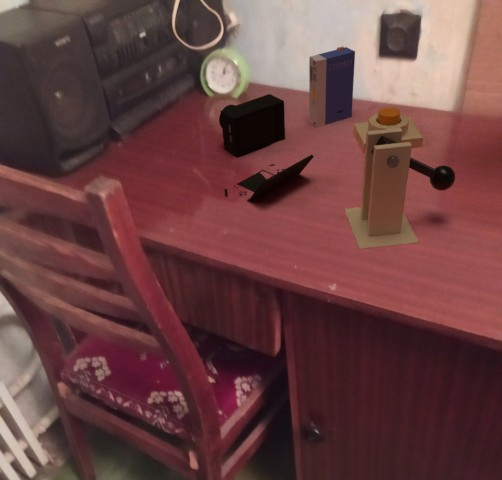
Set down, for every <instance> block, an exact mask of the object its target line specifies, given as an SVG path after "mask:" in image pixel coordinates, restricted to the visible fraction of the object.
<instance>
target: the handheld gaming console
mask: <svg viewBox="0 0 502 480" xmlns="http://www.w3.org/2000/svg"><path fill="white" fill-rule="evenodd" d="M313 159H314V155H313V154H310V155H308V156H306V157H305V158H303V159H301V160H299V161H297V162H295V163H293V164H292V165H291V166H288V167H286V168H281V171H280V169H279V168H277V169H276V173H275V174H274V173H271V172H269V171H268V170H269V169H270V168H269V167H275V166H277V165H276V164H274V163H271V164H269V165H268V167H267V170H265V169H261V170H260V171H258V172H256V173H254V174H252V175H250V176H248V177H246V178H245V179H243V180H241V181H239V182H237V183H236V185H237V186H236V185H233V187H234V188H235V187H236V189H239V187H242V188H244V189H246V190H248V191H250V192H252V195H250V198H247V200H246V202H248V203H252V202H253V201H255V200H257V199H259V198H261V197H263V196H264V195H266V194H267V193H270V192H272V191H273V190H274V189H277V188H278V187H280V186H282V185H283V184H285V183H287V182H288V181H291V180H292V179H293V178H295V177H297V176H300V174H301V173H302V172H303V171H304V170H305V168H306V167H307V166H308V164H309V163H310V162H311V161H312V160H313ZM262 172H265V173H267V174H269V175H271V176H270V177H268V178H267V177H265V175H263V174H262ZM246 190H245V191H242V190H240V191H239V194H238V195H239V196H240V197H241V196H248V194H247V193H248V191H246ZM243 192H244V194H242V193H243ZM224 195H225V196H226V197H229V194H228V188H225V189H224Z"/></svg>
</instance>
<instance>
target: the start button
mask: <svg viewBox="0 0 502 480" xmlns="http://www.w3.org/2000/svg"><path fill="white" fill-rule="evenodd" d="M400 114H401V110H400V109H399V108H395V107H383V108H381V109H379V110H378V123H379V124H381V125H387V126H391V125H396V124H399V121H400Z"/></svg>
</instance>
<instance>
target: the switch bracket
mask: <svg viewBox="0 0 502 480" xmlns="http://www.w3.org/2000/svg"><path fill="white" fill-rule="evenodd" d="M402 134H403V131H402V129H401V128H393V129H384V130H374V131H367V132H366V146H365V153H364V161H363V175H362V188H361V189H362V191H361V203H360V206H356V207H346V208H344V209H343V210H344V213H345V216H346V217H347V221H348V223H349V226H350V228H351V231H352V234H353V237H354V239H355V242H356V244H357V247H358V250H366V249H367V250H368V249H376V248H384V247H394V246H403V245H412V244H413V245H414V244H419V243H420V242H419V239H418V238H417V236H416V233H415V231H414V229H413V228H412V226H411V224H410V222H409V220H408V218H407V216H406V214H405V212H404V210H405V209H404V208H405V202H406V193H407V187H408V179H409V171H410V168H409V164H410V157H412V156H411V155H412V145H411V143H410V142H404V143H401V142H402ZM381 136H384V137H386V138H388V139H390V140H392V141H394V142H396V143H394V144H385V145H376V143H377V142H378V140H379V139H380V137H381ZM375 145H376V146H375ZM373 148H374V153H373V154H372V152H371V151H372V150H373Z"/></svg>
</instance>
